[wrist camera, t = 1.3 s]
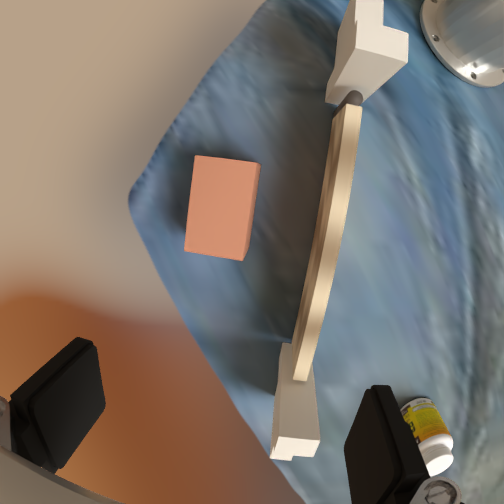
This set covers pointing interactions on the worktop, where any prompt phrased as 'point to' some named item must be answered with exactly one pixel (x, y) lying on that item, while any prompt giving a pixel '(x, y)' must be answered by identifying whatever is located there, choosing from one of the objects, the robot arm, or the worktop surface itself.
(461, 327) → the worktop surface
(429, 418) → the supplement bottle
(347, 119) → the gate door
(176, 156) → the worktop surface
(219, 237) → the salmon orange block
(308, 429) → the wall frame
